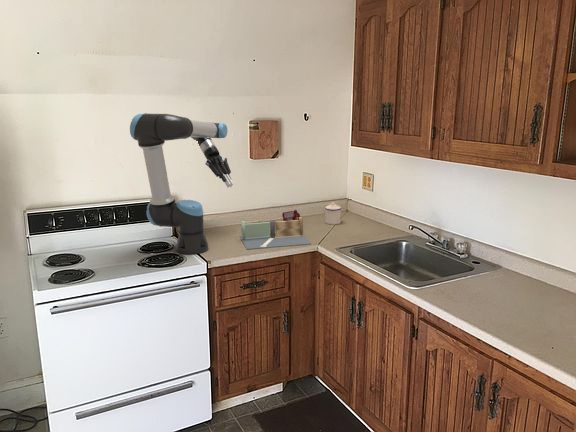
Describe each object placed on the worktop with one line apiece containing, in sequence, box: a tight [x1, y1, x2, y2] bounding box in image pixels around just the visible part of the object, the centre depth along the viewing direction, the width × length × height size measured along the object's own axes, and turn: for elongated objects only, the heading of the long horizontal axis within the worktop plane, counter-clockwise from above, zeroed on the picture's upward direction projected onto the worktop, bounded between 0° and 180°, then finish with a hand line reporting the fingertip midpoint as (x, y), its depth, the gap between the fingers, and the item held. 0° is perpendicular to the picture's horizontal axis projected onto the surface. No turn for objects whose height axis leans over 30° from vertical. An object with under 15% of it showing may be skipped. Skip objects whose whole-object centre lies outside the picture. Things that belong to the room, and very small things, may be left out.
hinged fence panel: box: [240, 220, 270, 239], centre depth 254 cm, size 14×2×9 cm, turn 104°
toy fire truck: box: [281, 209, 302, 221], centre depth 273 cm, size 7×12×10 cm, turn 127°
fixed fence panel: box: [269, 216, 304, 238], centre depth 258 cm, size 17×2×10 cm, turn 104°
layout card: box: [239, 232, 312, 251], centre depth 254 cm, size 32×22×1 cm
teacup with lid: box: [324, 202, 342, 226], centre depth 286 cm, size 12×9×12 cm
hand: (230, 185), depth 258 cm, fingers closed
